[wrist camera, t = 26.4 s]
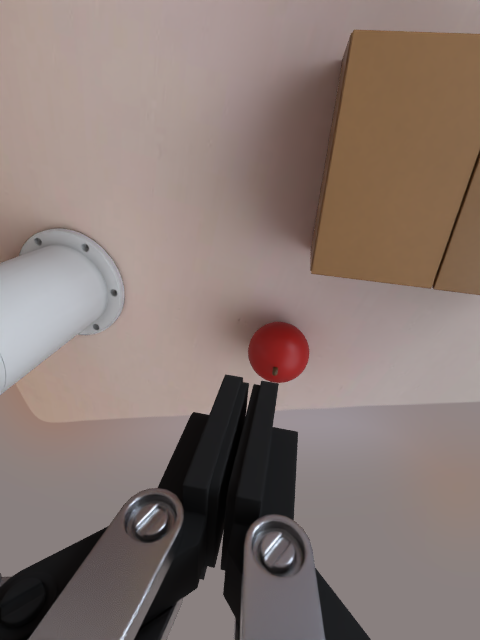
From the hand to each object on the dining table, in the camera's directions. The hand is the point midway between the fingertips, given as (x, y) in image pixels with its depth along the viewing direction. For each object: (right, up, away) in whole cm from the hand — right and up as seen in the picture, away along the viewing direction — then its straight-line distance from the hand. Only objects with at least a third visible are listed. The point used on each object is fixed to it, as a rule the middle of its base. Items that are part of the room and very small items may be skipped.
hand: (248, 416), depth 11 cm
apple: (+4, +1, +27) cm, 27 cm away
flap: (+10, +13, +12) cm, 20 cm away
